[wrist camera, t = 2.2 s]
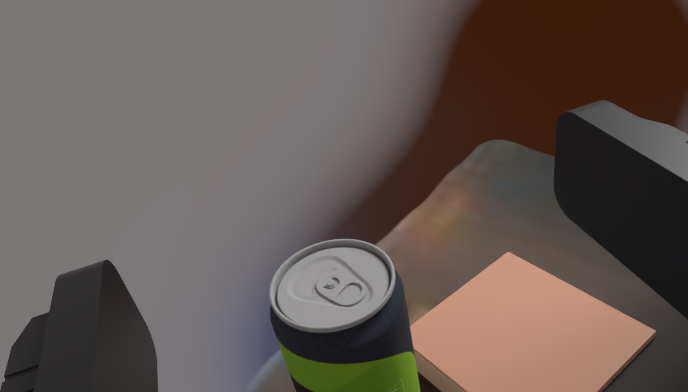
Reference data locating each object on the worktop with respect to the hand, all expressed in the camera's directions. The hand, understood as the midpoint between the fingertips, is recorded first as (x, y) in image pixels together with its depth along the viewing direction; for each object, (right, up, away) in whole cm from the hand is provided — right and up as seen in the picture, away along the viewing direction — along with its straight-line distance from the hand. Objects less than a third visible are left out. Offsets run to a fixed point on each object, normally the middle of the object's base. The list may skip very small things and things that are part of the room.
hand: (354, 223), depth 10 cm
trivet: (+12, -9, +29) cm, 33 cm away
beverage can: (+2, -16, +24) cm, 28 cm away
